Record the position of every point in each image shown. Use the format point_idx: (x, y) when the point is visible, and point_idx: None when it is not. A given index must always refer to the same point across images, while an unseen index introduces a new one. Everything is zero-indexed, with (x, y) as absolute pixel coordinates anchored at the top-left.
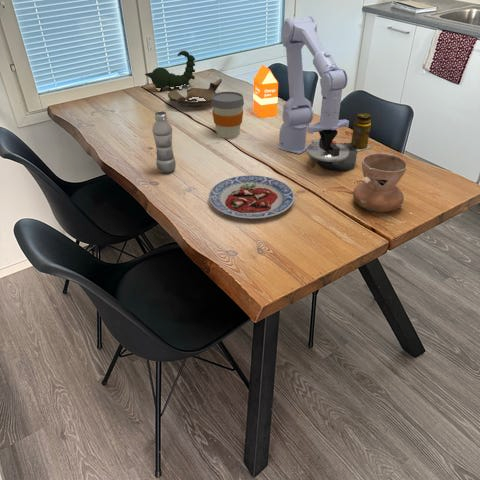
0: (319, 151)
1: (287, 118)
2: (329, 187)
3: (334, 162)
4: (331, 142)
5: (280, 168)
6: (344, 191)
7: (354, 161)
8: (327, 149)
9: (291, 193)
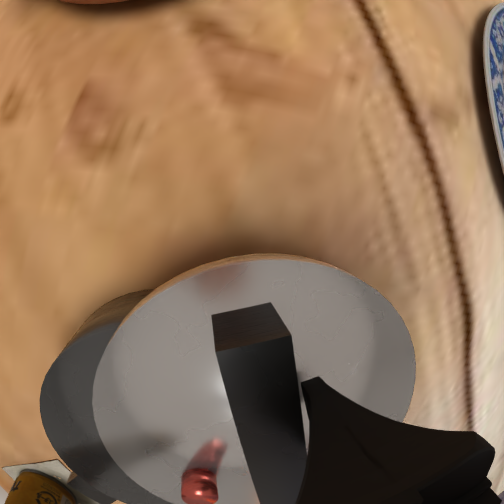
0: None
1: None
2: (308, 108)
3: None
4: (313, 433)
5: (445, 351)
6: (239, 48)
7: (71, 339)
8: (319, 385)
9: (493, 75)
